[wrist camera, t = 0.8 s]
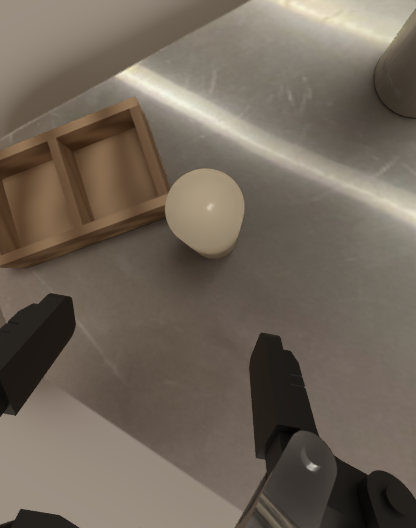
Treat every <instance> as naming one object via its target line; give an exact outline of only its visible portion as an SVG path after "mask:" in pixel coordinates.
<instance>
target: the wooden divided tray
mask: <svg viewBox="0 0 416 528" xmlns="http://www.w3.org/2000/svg"><path fill="white" fill-rule="evenodd" d="M170 189H171V188H170V185H169V182H168V179H167V176H166V173H165V170H164V167H163V164H162V161H161V158H160V155H159V153H158V150H157V147H156V144H155V141H154V138H153V135H152V132H151V129H150V126H149V123H148V120H147V118H146V116H145V114H144V113H143V111H142V109H141V107H140V105H139V103H138V101H137V99H136V97H133V98H130V99H128V100H125V101H123V102H120V103H118V104H115V105H113V106H110V107H108V108H105V109H103V110H100V111H98V112H95V113H93V114H90V115H88V116H85V117H83V118H80V119H78V120H75V121H73V122H70V123H68V124H65V125H63V126H60V127H58V128H55V129H53V130H50V131H48V132H45V133H43V134H40V135H38V136H35V137H33V138H30V139H28V140H25V141H23V142H20V143H18V144H15V145H13V146H10V147H8V148H5V149H3V150H0V267H1V268H28V267H31V266H34V265H37V264H39V263H42V262H45V261H48V260H50V259H53V258H56V257H58V256H61V255H64V254H67V253H69V252H72V251H75V250H78V249H80V248H83V247H86V246H89V245H91V244H94V243H97V242H100V241H102V240H105V239H108V238H111V237H113V236H116V235H119V234H121V233H124V232H127V231H130V230H132V229H135V228H138V227H141V226H143V225H146V224H149V223H152V222H154V221H157V220H160V219H163V218H165V217H166V214H165V204H166V199H167V195H168V193H169V191H170Z"/></svg>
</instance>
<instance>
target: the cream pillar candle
mask: <svg viewBox="0 0 416 528" xmlns="http://www.w3.org/2000/svg"><path fill="white" fill-rule="evenodd" d="M165 214H166V219H167V222H168V225H169V227H170V228H171V230H172V232H173V233H174V234H175V235H176V236H177V237H178V238H179V239H180V240H182V241H183V242H184V243H186V244H187V245H188V246H190V247H191V248H192V249H194V250H195V251H196V252H198V253H199V254H200V255H202V256H203V257H206V258H209V259H220V258H223V257H225V256H227V255H228V254H229V253H231V251H232V250H233V249H234V247H235V246H236V243H237V239H238V235H239V231H240V227H241V224H242V220H243V216H244V198H243V195H242V192H241V190H240V188H239V187H238V185H237V184H236V182H235V181H234V180H233V179H232V178H231V177H229V176H228V175H226V174H225V173H223V172H221V171H218V170H214V169H197V170H194V171H191V172H188V173H186V174H185V175H183V176H182V177H180V178H179V179H178V180H177V181H176V182H175V183H174V185H173V186H172V187H171V189H170V191H169V193H168V195H167V199H166V204H165Z"/></svg>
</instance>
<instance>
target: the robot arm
mask: <svg viewBox="0 0 416 528" xmlns="http://www.w3.org/2000/svg"><path fill="white" fill-rule="evenodd" d="M374 79H375V87H376V91H377V94H378V95H379V97H380V99H381V101H382V102H383V103H384V104H385V105H386V106H387V107H388V108H389V109H391V110H392V111H394V112H396V113H398V114H400V115H402V116H407V117H411V118H416V8H415V10H414V11H413V13H412V14H411V16H410V17H409V18H408V20H407V21H406V22H405V24H404V25H403V27H402V28H401V30H400V31H399V33H398V34H397V36H396V37H395V38H394V40H393V41H392V43H391V44H390V46H389V47H388V49H387V50H386V51H385V53H384V54H383V56H382V57H381V59H380V60H379V62H378V64H377V67H376V70H375V76H374ZM75 325H76V322H75V315H74V308H73V301H72V298H71V297H69V296H64V295H58V294H53V293H50V294H48V295H47V296H46V297H45V298H44V299H43V300H42V301H41V302H40V303H39V304H34V303H33V304H31V305H29V306H27V307H26V308H24V309H22V310H20V311H18V312H17V313H16V314H15V315H14V316H13V317H12V318H11V319H10V320H9V321H8V323H7V324H5V325H4V326H3V327H1V328H0V417H1V415H2V414H3V413H4V414H10V415H15V416H16V415H17V413H18V412H19V410H20V409H21V408H22V406H23V405H24V403H25V402H26V401H27V399H28V398H29V396H30V395H31V393H32V392H33V391H34V389H35V388H36V386H37V385H38V384H39V382H40V381H41V379H42V378H43V377H44V375H45V374H46V372H47V371H48V370H49V368H50V367H51V365H52V364H53V362H54V361H55V360H56V358H57V357H58V355H59V354H60V353H61V351H62V350H63V348H64V347H65V346H66V344H67V343H68V341H69V340H70V338H71V337H72V335H73V333H74V330H75ZM249 371H250V385H251V398H252V412H253V425H254V439H255V452H256V458H259V459H265V460H266V470H267V472H266V473H265V475H264V477H263V478H262V480H261V482H260V484H259V485H258V487H257V489H256V491H255V493H254V494H253V496H252V498H251V500H250V501H249V503H248V505H247V507H246V509H245V510H244V512H243V514H242V516H241V517H240V519H239V521H238V523H237V524H236V526H235V528H416V499H415V498H414V496H413V495H412V493H411V492H410V491H409V490H408V488H407V487H406V486H405V485H404V484H403V483H402V482H401V481H400V480H398V479H397V478H396V477H394V476H393V475H391V474H389V473H387V472H385V471H380V470H378V471H374V472H372V473H370V474H369V475H367V474H365V473H363V472H362V471H360V470H358V469H356V468H354V467H352V466H350V465H349V464H347V463H345V462H343V461H341V460H340V459H338V458H337V457H336V456H334V455H333V453H332V451H331V450H330V448H329V447H328V445H327V444H326V443H325V442H324V441H323V440H322V439H321V438H320V437H319V434H318V432H317V429H316V425H315V422H314V418H313V414H312V411H311V407H310V403H309V400H308V396H307V392H306V389H305V388H304V386H305V385H304V381H303V378H302V374H301V370H300V367H299V363H298V361H297V360H296V358H295V357H294V355H293V354H292V352H291V351H288V350H283V346H282V342H281V338H280V336H278V335H272V334H267V333H261V334H260V335H259V338H258V340H257V343H256V345H255V348H254V350H253V352H252V355H251V358H250V366H249ZM0 528H79V527H77V526H76V525H74V524H73V523H71V522H70V521H68V520H66V519H65V518H63V517H61V516H60V515H55V514H49V513H43V512H37V511H30V510H24V509H21V510H20V511H19V513H18V515H17V517H16V519H15V520H13V521H10V522H7V523H4V524H1V525H0Z"/></svg>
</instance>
